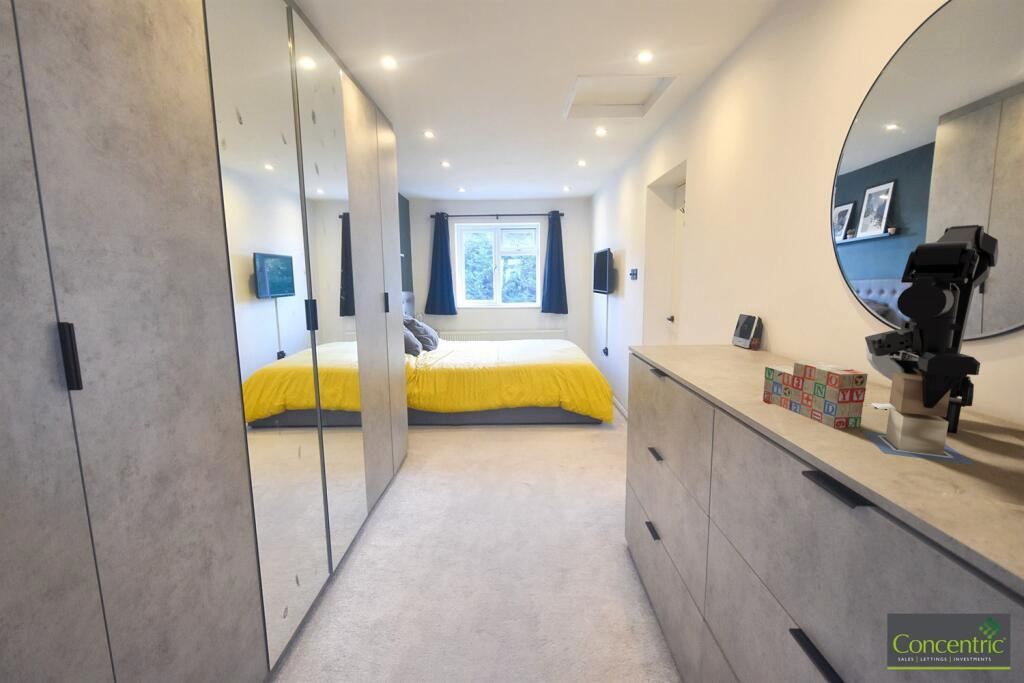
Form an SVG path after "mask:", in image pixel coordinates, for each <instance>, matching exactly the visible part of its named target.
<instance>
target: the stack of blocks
mask: <svg viewBox="0 0 1024 683" xmlns="http://www.w3.org/2000/svg"><path fill="white" fill-rule="evenodd" d="M764 370H765V371H764V386H763V396H762V401H763V402H764V403H766V402H767V403H766V404H769V405H776V406H778V407H780V408H781V407H782V408H784V409H786V410H788V411H792V412H793V413H796V414H799V416H803V417H805V418H809V419H811V420H813V421H816V422H818V423H820V424H822V425H825V426H827V427H829V428H832V429H841V428H842V429H843V428H846V429H848V428H861V424H862V414H863V409H864V402H865V398H866V397H865V395H866V392H867V389H866V387H867V382H868V381H867V380H868V375H869V374H868V373H866V372H862V371H858V370H854V369H853V368H848V367H845V366H840V365H836V364H831V363H830V364H829V363H827V362H822V361H819V360H817V361H815V360H814V361H794V364H793V366H789V365H776V366H773V365H772V366H765V368H764Z"/></svg>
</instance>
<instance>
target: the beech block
mask: <svg viewBox="0 0 1024 683" xmlns="http://www.w3.org/2000/svg"><path fill="white" fill-rule="evenodd" d="M888 411H889V412H888V419H887V425H886V430H885V431H886V432H885V434H886V439H887V440H888V441H890V442H891V443H892V444H893V445H894V446H895V447H897V448H898V449H899V450H907V451H915V452H922V453H930V454H938V455H943V454H944V447H945V444H946V440H947V434H948V433H947V429H948V421H946V420H944V419H942V418H941V417H939V416H930V415H921V414H911V413H901V412H899V411H898V410H897V409H895V408H890V409H889V410H888Z"/></svg>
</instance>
